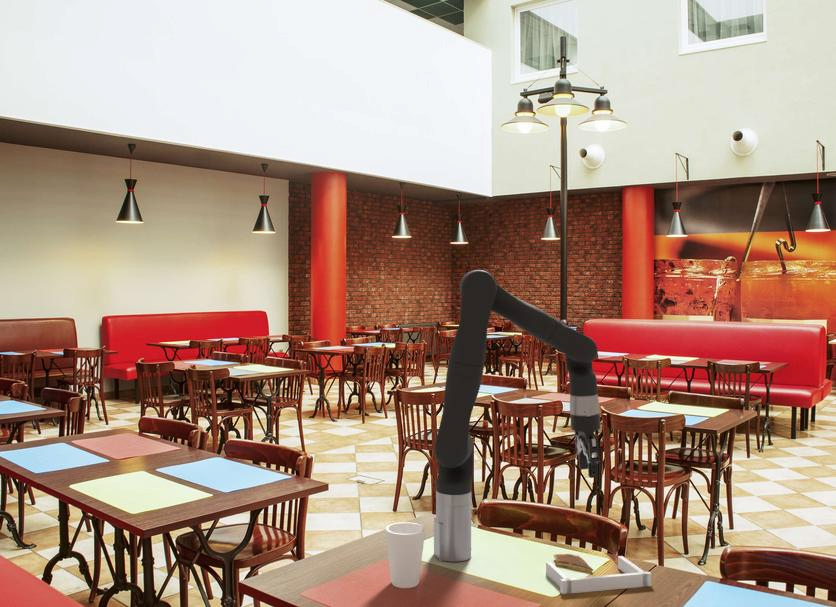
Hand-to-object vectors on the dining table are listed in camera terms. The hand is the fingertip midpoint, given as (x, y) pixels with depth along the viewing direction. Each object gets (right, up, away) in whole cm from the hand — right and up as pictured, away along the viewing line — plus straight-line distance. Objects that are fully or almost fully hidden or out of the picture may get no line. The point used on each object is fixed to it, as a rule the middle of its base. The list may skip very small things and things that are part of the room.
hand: (588, 473), depth 194 cm
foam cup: (-48, -22, -18) cm, 56 cm away
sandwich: (-4, -23, -5) cm, 24 cm away
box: (-2, -22, -16) cm, 27 cm away
